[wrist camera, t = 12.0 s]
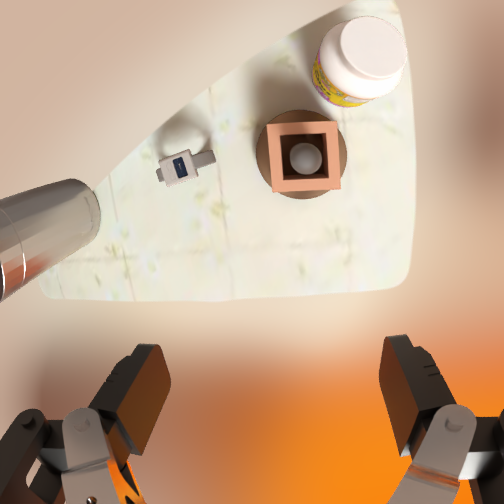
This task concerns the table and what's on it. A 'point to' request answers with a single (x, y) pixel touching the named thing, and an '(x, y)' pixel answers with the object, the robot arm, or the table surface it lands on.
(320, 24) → the table surface
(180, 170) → the wristwatch
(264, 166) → the post stand
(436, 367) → the robot arm
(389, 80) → the supplement bottle
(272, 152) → the pink hollow square block
